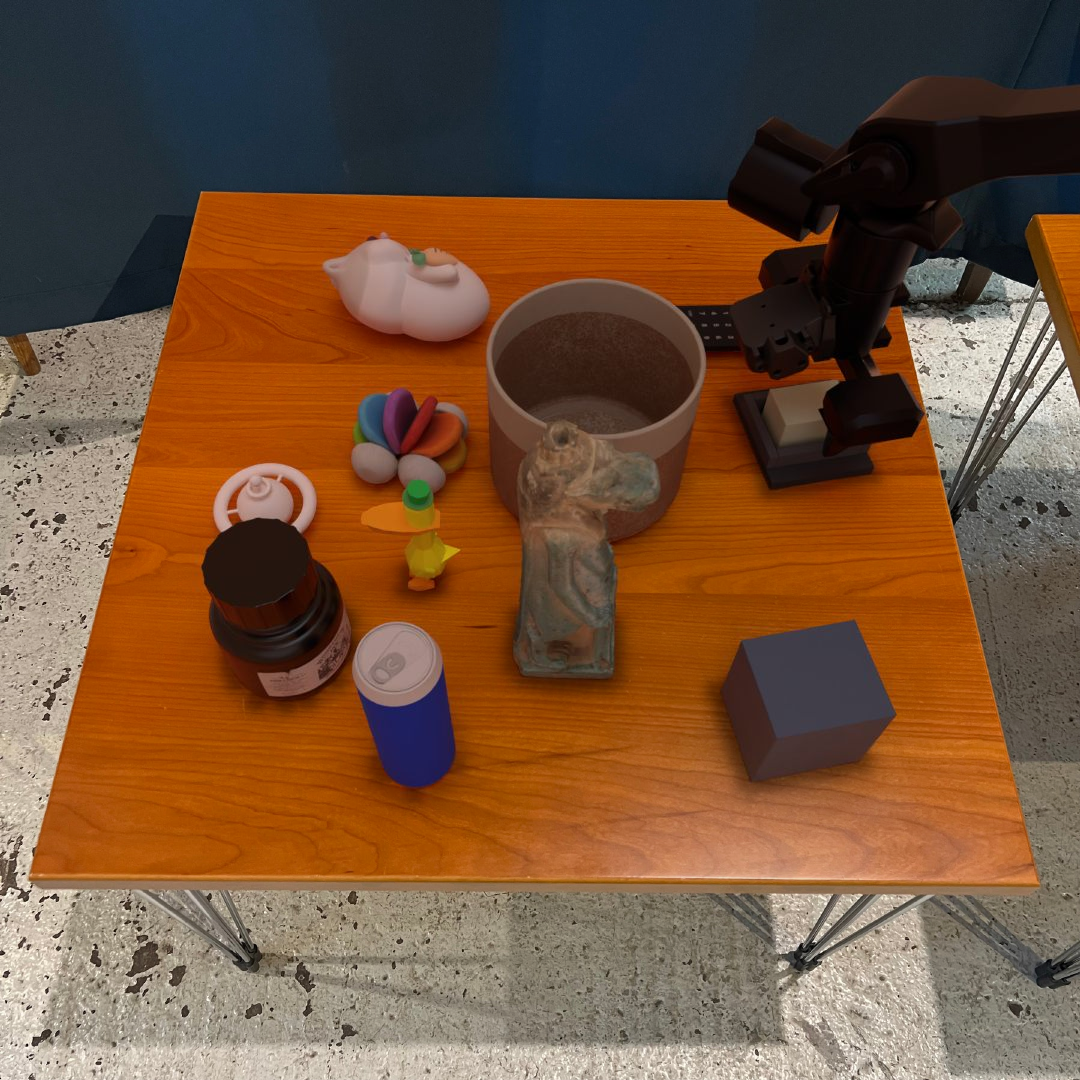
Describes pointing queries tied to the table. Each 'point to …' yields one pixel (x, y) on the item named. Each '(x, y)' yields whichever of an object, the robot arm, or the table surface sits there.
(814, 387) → the beige block
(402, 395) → the rainbow stacking pebbles
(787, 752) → the dark gray cube
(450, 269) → the cat figurine
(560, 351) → the planter
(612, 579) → the statue
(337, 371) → the table surface
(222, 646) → the ink bottle
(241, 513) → the ring around a ball
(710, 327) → the remote control
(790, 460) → the dark gray square tray
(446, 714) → the beverage can
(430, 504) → the toy figure
